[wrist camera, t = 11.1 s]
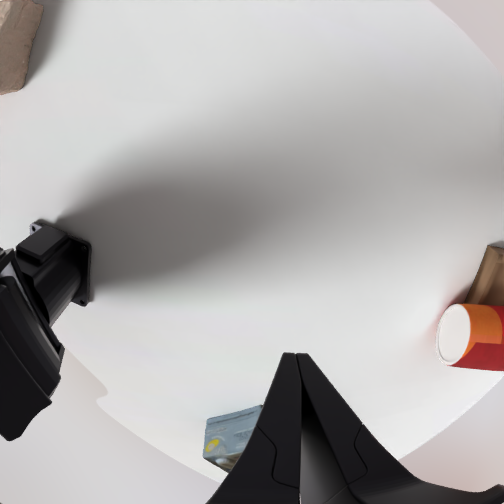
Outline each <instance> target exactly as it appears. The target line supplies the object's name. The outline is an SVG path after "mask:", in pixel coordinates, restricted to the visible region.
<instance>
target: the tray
mask: <svg viewBox="0 0 504 504" xmlns="http://www.w3.org/2000/svg"><path fill="white" fill-rule="evenodd" d="M464 304H477V305H494V306H504V248H499V247H494V246H489V245H488V246H487V249H486V252H485V255H484V257H483V260H482V262H481V265H480V268H479V270H478V272H477V275H476V277H475V280H474V282H473V284H472V287H471V289H470V291H469V293H468V296H467V298H466V300H465V302H464Z"/></svg>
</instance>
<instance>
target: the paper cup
mask: <svg viewBox="0 0 504 504" xmlns="http://www.w3.org/2000/svg"><path fill="white" fill-rule="evenodd" d="M435 344H436V352H437V356H438V358H439V360H440V361H441V362H442V363H443V364H444V365H447V366H453V367H460V368H470V369H480V370H491V371H504V306H494V305H477V304H454V305H451V306H450V307H449V308H447V310H446V311H445V312H444V313H443V315H442V317H441V319H440V321H439V324H438V328H437V332H436V341H435Z"/></svg>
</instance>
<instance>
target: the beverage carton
mask: <svg viewBox="0 0 504 504" xmlns="http://www.w3.org/2000/svg"><path fill="white" fill-rule="evenodd" d="M261 410H262V406H261V405H258V406H255V407H252V408H249V409H245V410H242V411H238V412H234V413H230V414H226V415H223V416H219V417H214V418H211V419H208V420H207V423H206V429H205V442H204V450H203V458H204V459H206V460H207V461H209V462H211V463H212V464H214V465H216V466H218V467H220V468H221V469H222V470H224V471H226V472H228V473H229V472H230V471H231V469H232V468H233V466H234V465H235V463H236V462H237V460H238V459H239V457H240V455H241V454H242V452H243V450H244V449H245V447H246V444H247V442H248V440H249V438H250V436H251V434H252V431H253V429H254V427H255V424H256V422H257V419H258V417H259V415H260V412H261ZM299 490H300V489H299Z"/></svg>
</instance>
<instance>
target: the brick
mask: <svg viewBox="0 0 504 504" xmlns="http://www.w3.org/2000/svg"><path fill="white" fill-rule="evenodd" d="M42 13H43V5H40V4H35V3H34V2H33V1H31V0H2V1H0V95H3V94H6V93H11V92H16V91H18V90H20V89H21V88H22V87H23V84H24V81H25V76H26V73H27V71H28V59H29V54H30V51H31V47H32V42H33V39H34V38H35V34H36V31H37V29H38V27H39V24H40V21H41V16H42Z"/></svg>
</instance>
